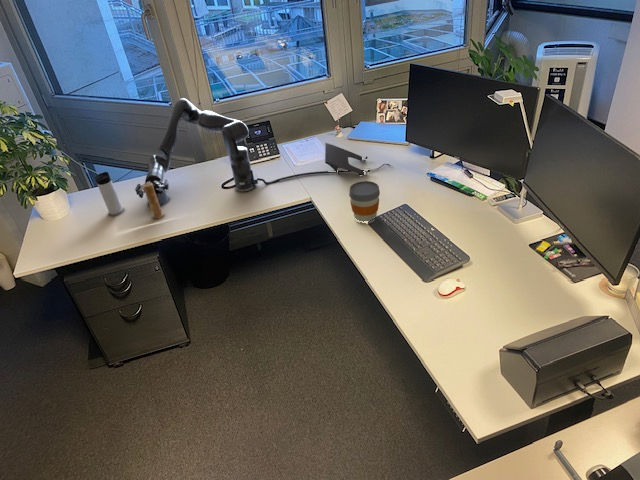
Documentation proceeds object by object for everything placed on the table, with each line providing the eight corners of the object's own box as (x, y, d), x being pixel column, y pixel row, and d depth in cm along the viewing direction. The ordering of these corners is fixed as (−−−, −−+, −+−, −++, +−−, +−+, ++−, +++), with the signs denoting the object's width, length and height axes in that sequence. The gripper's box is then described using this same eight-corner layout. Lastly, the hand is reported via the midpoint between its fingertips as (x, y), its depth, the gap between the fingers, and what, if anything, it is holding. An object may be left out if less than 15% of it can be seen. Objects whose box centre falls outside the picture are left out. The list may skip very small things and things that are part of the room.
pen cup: (167, 195, 231) (164, 183, 228) (169, 203, 224) (165, 192, 220) (149, 199, 229) (145, 188, 226) (149, 208, 222) (145, 196, 218)
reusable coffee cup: (360, 230, 191) (359, 199, 182) (345, 216, 200) (343, 186, 192) (386, 220, 195) (385, 189, 186) (369, 207, 205) (368, 177, 196)
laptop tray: (362, 189, 230) (370, 174, 225) (319, 174, 225) (326, 158, 220) (360, 168, 249) (367, 153, 244) (320, 154, 244) (326, 138, 239)
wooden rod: (162, 213, 217) (152, 181, 207) (163, 218, 214) (152, 185, 204) (154, 216, 216) (142, 183, 206) (154, 220, 213) (143, 187, 203)
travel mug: (126, 209, 224) (112, 172, 212) (117, 216, 219) (102, 178, 207) (116, 207, 226) (101, 171, 214) (107, 215, 221) (91, 177, 209)
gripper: (172, 182, 222) (168, 199, 209) (142, 187, 221) (137, 204, 208) (167, 168, 218) (164, 184, 205) (137, 173, 217) (131, 190, 204)
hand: (150, 194), depth 206 cm, fingers open, 8 cm apart
